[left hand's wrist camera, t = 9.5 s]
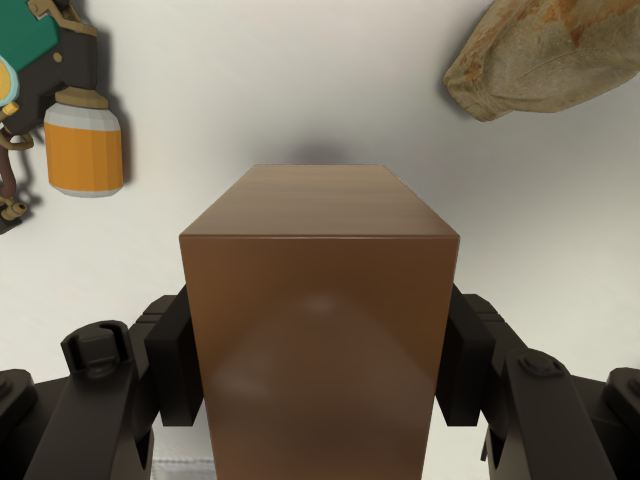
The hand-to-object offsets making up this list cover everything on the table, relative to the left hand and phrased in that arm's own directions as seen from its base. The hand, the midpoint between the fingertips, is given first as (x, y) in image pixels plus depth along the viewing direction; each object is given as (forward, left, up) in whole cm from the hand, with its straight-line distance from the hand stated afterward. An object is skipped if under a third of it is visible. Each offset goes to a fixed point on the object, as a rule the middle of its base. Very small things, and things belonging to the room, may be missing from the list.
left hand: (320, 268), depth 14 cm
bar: (0, +7, -1) cm, 8 cm away
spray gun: (+21, -6, -13) cm, 25 cm away
